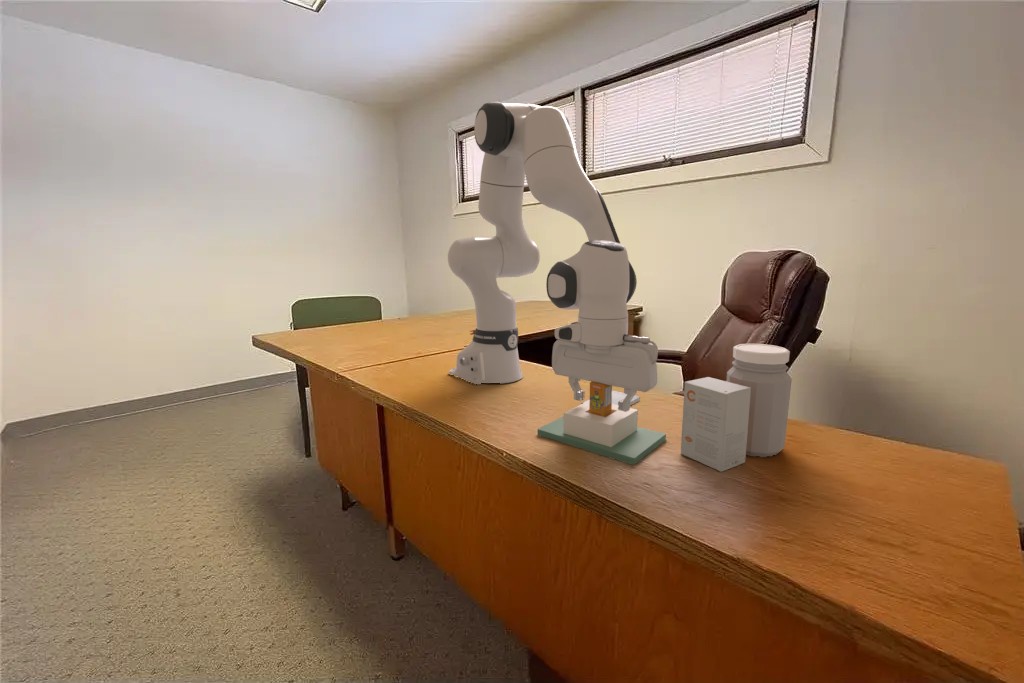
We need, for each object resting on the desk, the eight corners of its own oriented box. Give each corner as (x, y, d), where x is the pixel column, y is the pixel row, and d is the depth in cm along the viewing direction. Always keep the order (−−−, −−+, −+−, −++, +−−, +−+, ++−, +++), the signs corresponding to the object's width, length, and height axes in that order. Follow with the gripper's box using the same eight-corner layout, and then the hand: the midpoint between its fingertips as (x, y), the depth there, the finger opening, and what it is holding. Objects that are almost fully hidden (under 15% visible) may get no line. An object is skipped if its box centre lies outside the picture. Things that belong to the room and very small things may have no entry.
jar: (718, 451, 78) (726, 350, 74) (724, 432, 86) (731, 340, 82) (784, 464, 73) (795, 356, 69) (783, 442, 81) (793, 345, 78)
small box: (745, 463, 73) (752, 387, 71) (720, 473, 70) (727, 393, 68) (703, 445, 80) (708, 375, 78) (679, 453, 77) (683, 381, 75)
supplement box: (587, 432, 84) (588, 381, 82) (596, 427, 86) (597, 377, 84) (602, 437, 82) (604, 384, 80) (612, 431, 84) (613, 380, 82)
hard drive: (612, 410, 96) (640, 395, 105) (580, 402, 102) (609, 389, 111) (612, 417, 97) (640, 402, 105) (580, 409, 102) (609, 395, 111)
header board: (537, 434, 86) (537, 409, 85) (574, 416, 96) (574, 392, 95) (634, 465, 73) (635, 435, 72) (665, 439, 83) (667, 413, 82)
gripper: (665, 335, 76) (661, 412, 79) (566, 324, 90) (565, 390, 92) (649, 341, 72) (646, 422, 74) (547, 329, 85) (547, 398, 88)
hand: (600, 404), depth 83 cm, fingers open, 8 cm apart
